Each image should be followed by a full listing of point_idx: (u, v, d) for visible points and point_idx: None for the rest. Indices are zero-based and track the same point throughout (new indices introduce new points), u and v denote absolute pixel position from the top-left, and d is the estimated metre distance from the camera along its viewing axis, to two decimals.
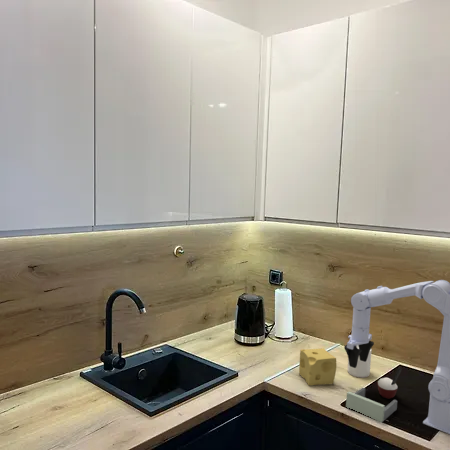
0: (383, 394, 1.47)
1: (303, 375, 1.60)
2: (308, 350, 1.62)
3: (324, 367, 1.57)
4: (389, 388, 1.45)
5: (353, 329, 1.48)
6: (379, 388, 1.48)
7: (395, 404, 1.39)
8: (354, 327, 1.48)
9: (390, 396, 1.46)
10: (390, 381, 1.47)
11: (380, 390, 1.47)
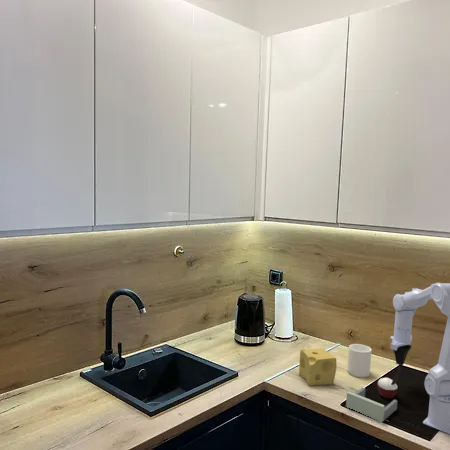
0: (383, 394, 1.47)
1: (303, 375, 1.60)
2: (308, 350, 1.62)
3: (324, 367, 1.57)
4: (389, 388, 1.45)
5: (396, 330, 1.53)
6: (379, 388, 1.48)
7: (395, 404, 1.39)
8: (397, 329, 1.52)
9: (390, 396, 1.46)
10: (390, 381, 1.47)
11: (380, 390, 1.47)
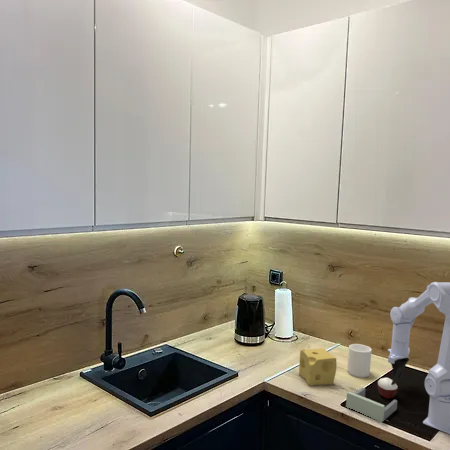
0: (383, 394, 1.47)
1: (303, 375, 1.60)
2: (308, 350, 1.62)
3: (324, 367, 1.57)
4: (389, 388, 1.45)
5: (393, 343, 1.52)
6: (379, 388, 1.48)
7: (395, 404, 1.39)
8: (394, 341, 1.51)
9: (390, 396, 1.46)
10: (390, 381, 1.47)
11: (380, 390, 1.47)
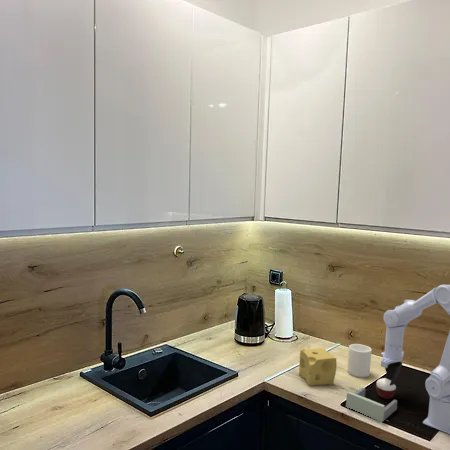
0: (382, 395, 1.46)
1: (303, 375, 1.60)
2: (308, 350, 1.62)
3: (324, 367, 1.57)
4: (388, 389, 1.45)
5: (386, 347, 1.48)
6: (377, 389, 1.47)
7: (395, 404, 1.39)
8: (387, 345, 1.48)
9: (389, 397, 1.45)
10: (388, 382, 1.46)
11: (379, 391, 1.47)
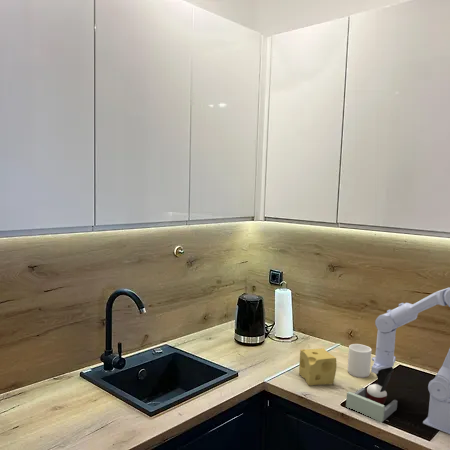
0: None
1: (303, 375, 1.60)
2: (308, 350, 1.62)
3: (324, 367, 1.57)
4: (378, 395, 1.40)
5: (377, 352, 1.43)
6: (368, 395, 1.42)
7: (395, 404, 1.39)
8: (378, 350, 1.42)
9: None
10: (379, 388, 1.41)
11: (369, 397, 1.42)
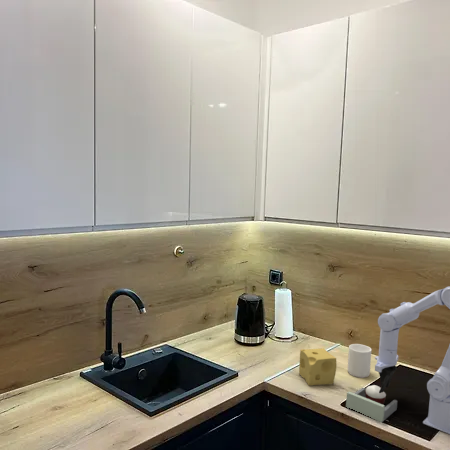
0: None
1: (303, 375, 1.60)
2: (308, 350, 1.62)
3: (324, 367, 1.57)
4: (377, 396, 1.39)
5: (380, 351, 1.45)
6: (367, 396, 1.42)
7: (395, 404, 1.39)
8: (382, 349, 1.44)
9: None
10: (378, 389, 1.41)
11: (368, 398, 1.41)
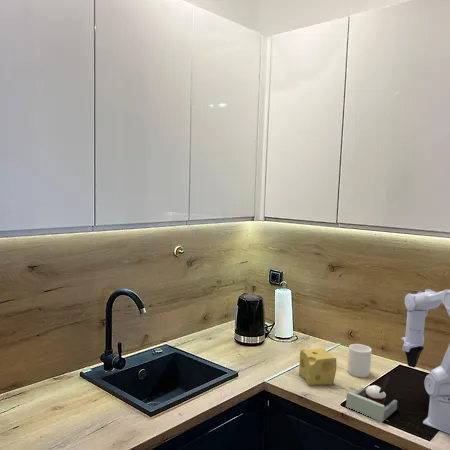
0: None
1: (303, 375, 1.60)
2: (308, 350, 1.62)
3: (324, 367, 1.57)
4: (377, 396, 1.39)
5: (407, 331, 1.47)
6: (367, 396, 1.42)
7: (395, 404, 1.39)
8: (409, 329, 1.47)
9: None
10: (378, 389, 1.41)
11: (368, 398, 1.41)
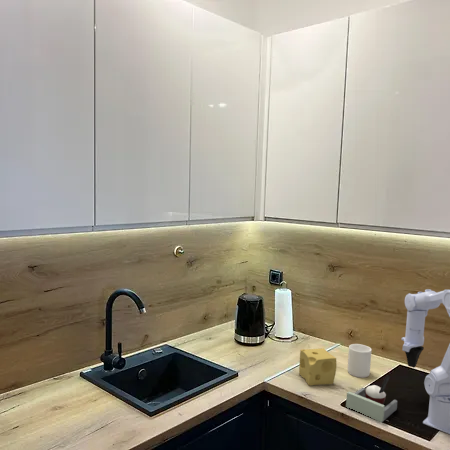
0: None
1: (303, 375, 1.60)
2: (308, 350, 1.62)
3: (324, 367, 1.57)
4: (377, 396, 1.39)
5: (407, 331, 1.47)
6: (367, 396, 1.42)
7: (395, 404, 1.39)
8: (409, 329, 1.47)
9: None
10: (378, 389, 1.41)
11: (367, 398, 1.41)
